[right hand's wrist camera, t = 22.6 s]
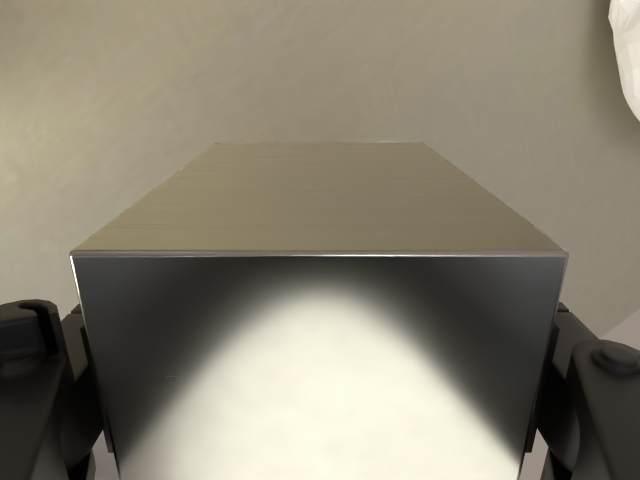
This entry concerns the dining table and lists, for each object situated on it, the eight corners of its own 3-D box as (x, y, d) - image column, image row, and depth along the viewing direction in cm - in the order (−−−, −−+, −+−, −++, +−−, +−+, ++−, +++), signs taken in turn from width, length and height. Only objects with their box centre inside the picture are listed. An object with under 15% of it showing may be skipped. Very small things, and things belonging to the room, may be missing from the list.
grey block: (424, 142, 14) (572, 251, 6) (409, 328, 16) (496, 587, 8) (213, 142, 14) (64, 251, 6) (230, 328, 16) (141, 587, 8)
